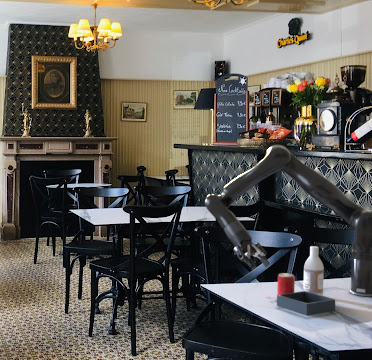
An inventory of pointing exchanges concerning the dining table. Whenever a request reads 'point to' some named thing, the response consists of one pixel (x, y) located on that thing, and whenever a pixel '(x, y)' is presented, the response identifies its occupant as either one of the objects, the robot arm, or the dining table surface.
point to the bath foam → (313, 273)
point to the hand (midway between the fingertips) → (261, 266)
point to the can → (285, 283)
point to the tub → (306, 303)
